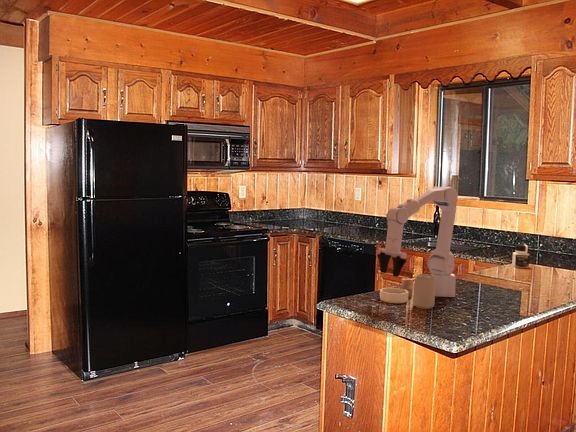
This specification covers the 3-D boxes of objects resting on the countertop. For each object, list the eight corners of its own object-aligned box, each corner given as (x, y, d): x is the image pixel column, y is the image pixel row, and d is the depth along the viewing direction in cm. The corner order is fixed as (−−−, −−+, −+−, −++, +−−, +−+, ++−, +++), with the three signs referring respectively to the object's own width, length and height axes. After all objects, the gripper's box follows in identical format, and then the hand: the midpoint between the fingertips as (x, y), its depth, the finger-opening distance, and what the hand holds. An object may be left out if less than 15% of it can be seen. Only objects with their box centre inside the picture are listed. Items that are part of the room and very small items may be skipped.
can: (430, 304, 209) (432, 273, 208) (436, 309, 201) (438, 277, 200) (411, 304, 209) (412, 272, 208) (416, 309, 201) (417, 276, 200)
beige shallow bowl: (405, 297, 219) (405, 288, 219) (409, 303, 209) (409, 294, 209) (378, 296, 220) (379, 287, 220) (381, 302, 210) (381, 293, 209)
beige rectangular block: (411, 295, 222) (411, 278, 222) (412, 297, 220) (412, 280, 219) (401, 295, 223) (401, 278, 222) (402, 296, 220) (402, 279, 219)
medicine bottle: (515, 267, 293) (516, 245, 292) (511, 265, 300) (513, 243, 299) (529, 268, 292) (530, 245, 291) (525, 265, 299) (527, 243, 298)
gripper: (374, 236, 214) (369, 270, 214) (397, 240, 201) (392, 277, 201) (388, 237, 217) (384, 271, 218) (412, 242, 204) (408, 278, 205)
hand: (389, 274), depth 210 cm, fingers open, 7 cm apart
